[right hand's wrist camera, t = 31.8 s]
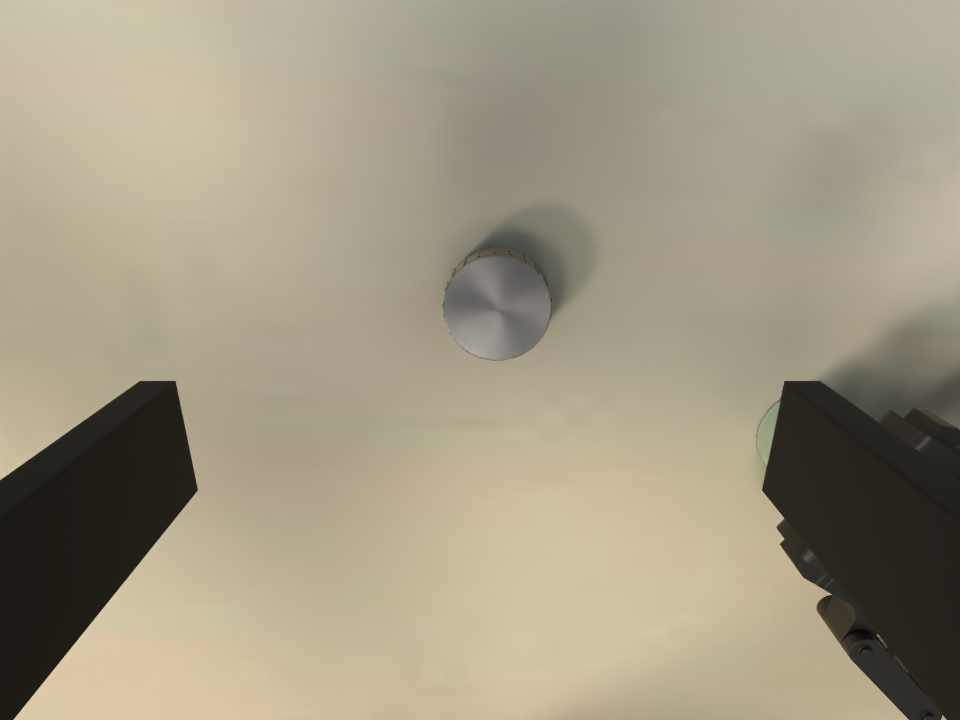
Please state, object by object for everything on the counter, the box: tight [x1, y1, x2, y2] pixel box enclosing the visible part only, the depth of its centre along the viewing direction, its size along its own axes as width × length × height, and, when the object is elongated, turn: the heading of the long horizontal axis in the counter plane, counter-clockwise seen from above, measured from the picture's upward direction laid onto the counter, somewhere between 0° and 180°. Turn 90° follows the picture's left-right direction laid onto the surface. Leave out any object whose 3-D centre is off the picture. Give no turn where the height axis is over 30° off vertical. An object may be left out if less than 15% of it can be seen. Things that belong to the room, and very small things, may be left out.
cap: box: [442, 247, 552, 360], centre depth 25 cm, size 5×5×2 cm
